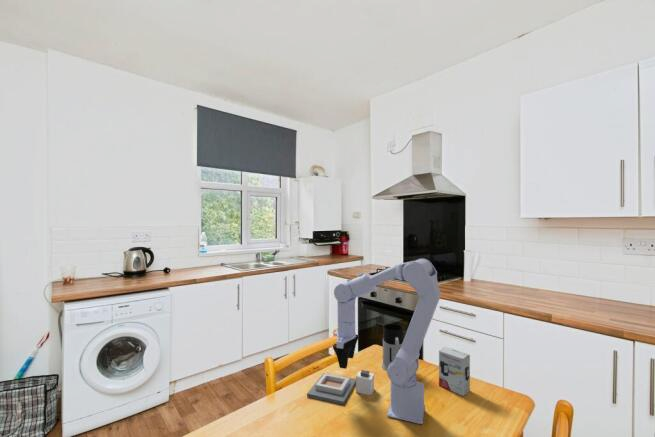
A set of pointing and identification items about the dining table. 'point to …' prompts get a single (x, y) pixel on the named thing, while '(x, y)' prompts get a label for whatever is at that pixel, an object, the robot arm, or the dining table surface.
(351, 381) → the socket dock
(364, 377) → the plug
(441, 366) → the ink box
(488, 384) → the dining table surface
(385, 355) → the glass holder
